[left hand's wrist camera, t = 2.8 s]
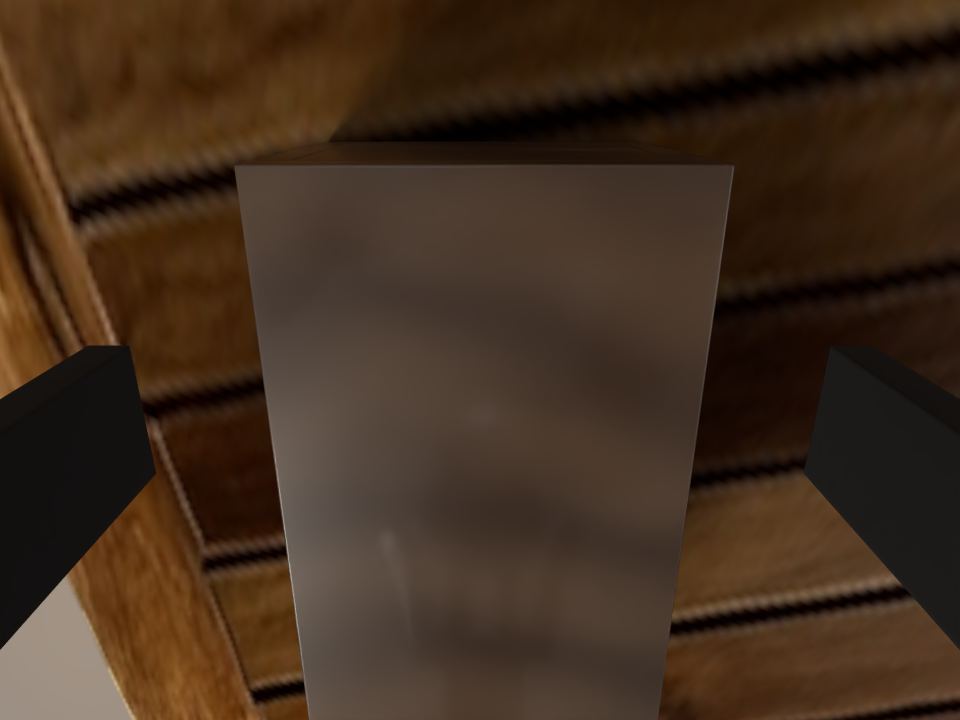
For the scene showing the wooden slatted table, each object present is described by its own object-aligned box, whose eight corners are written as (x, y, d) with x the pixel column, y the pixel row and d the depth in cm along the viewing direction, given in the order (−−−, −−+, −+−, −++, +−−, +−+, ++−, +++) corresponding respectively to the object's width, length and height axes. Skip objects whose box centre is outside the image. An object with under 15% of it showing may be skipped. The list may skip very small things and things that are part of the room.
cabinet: (602, 581, 31) (651, 773, 22) (363, 581, 31) (315, 771, 22) (640, 141, 24) (735, 164, 15) (326, 141, 24) (232, 164, 15)
